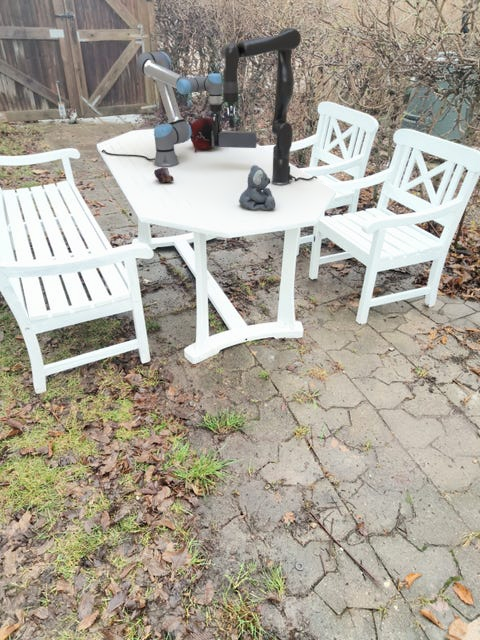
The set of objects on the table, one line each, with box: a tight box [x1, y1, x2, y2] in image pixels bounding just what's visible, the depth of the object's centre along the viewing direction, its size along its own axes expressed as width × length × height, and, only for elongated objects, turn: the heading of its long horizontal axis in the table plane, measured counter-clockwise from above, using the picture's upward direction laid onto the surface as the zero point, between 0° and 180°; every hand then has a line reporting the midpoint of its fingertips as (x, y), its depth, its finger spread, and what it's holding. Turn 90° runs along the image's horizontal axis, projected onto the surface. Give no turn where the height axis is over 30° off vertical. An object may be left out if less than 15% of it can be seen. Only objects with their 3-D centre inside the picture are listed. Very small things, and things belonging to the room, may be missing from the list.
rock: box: [153, 167, 175, 184], centre depth 260 cm, size 12×9×10 cm
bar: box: [211, 130, 258, 149], centre depth 274 cm, size 27×4×9 cm, turn 81°
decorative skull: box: [187, 117, 223, 153], centre depth 321 cm, size 21×24×25 cm
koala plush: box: [238, 164, 276, 211], centre depth 224 cm, size 17×18×20 cm
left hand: (217, 144), depth 278 cm, fingers closed on bar, 4 cm apart
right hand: (231, 125), depth 233 cm, fingers open, 8 cm apart
